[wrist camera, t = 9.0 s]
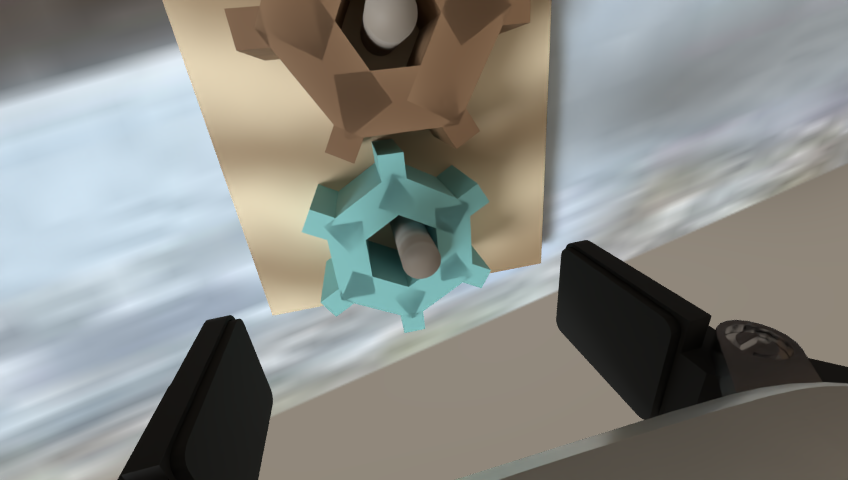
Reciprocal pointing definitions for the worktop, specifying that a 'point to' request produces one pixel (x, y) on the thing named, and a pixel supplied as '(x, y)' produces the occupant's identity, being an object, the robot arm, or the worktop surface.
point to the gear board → (365, 143)
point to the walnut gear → (389, 88)
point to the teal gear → (380, 265)
